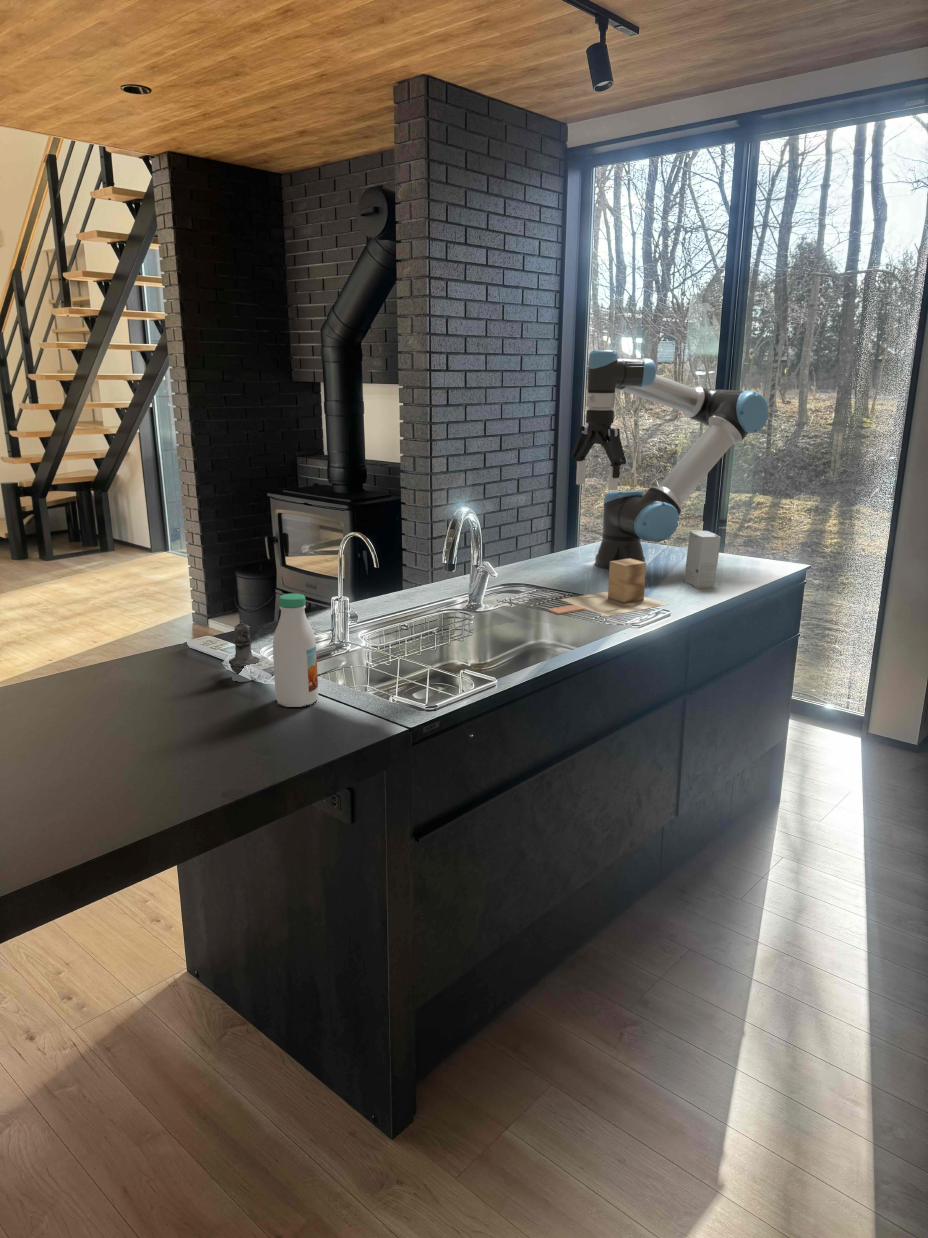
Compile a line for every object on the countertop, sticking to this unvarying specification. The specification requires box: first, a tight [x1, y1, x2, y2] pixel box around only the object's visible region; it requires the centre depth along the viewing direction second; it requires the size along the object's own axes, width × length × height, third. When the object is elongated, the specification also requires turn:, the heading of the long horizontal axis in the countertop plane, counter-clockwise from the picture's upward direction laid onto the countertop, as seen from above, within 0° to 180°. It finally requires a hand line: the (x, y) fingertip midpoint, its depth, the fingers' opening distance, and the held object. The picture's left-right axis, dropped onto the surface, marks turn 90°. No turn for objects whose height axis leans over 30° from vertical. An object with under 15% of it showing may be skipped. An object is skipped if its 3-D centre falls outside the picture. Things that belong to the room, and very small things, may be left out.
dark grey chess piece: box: [228, 619, 260, 674], centre depth 169 cm, size 6×6×12 cm
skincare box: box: [683, 530, 722, 589], centre depth 244 cm, size 8×6×15 cm
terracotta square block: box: [562, 604, 585, 614], centre depth 216 cm, size 4×4×2 cm
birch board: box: [559, 590, 670, 617], centre depth 223 cm, size 21×18×1 cm
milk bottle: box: [272, 592, 319, 705], centre depth 156 cm, size 8×8×20 cm
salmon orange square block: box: [547, 606, 571, 616], centre depth 214 cm, size 4×4×2 cm
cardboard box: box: [607, 558, 647, 604], centre depth 223 cm, size 7×6×10 cm
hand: (596, 487), depth 243 cm, fingers open, 13 cm apart
